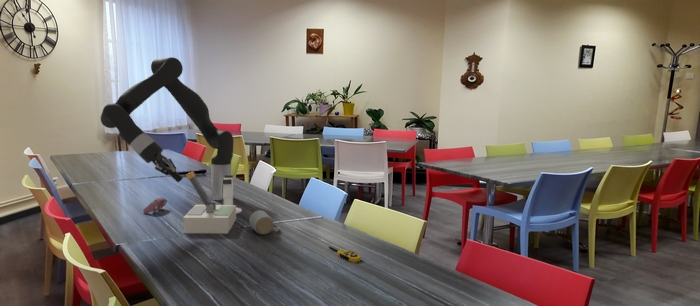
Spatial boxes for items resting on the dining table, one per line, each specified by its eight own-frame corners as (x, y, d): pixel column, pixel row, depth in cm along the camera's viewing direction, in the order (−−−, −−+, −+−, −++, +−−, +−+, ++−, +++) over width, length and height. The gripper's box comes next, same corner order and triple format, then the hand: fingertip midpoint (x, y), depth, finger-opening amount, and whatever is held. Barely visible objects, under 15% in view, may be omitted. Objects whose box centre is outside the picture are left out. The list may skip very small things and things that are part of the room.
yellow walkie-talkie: (352, 258, 138) (323, 245, 149) (352, 264, 138) (323, 250, 149) (363, 255, 141) (334, 242, 152) (363, 261, 141) (334, 247, 152)
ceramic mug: (255, 237, 159) (256, 216, 158) (248, 230, 166) (249, 210, 165) (282, 233, 164) (283, 213, 163) (275, 227, 171) (275, 208, 170)
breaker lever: (208, 212, 167) (185, 175, 164) (210, 209, 171) (188, 173, 168) (213, 209, 167) (190, 172, 164) (215, 207, 171) (192, 170, 168)
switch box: (183, 233, 160) (183, 209, 159) (196, 218, 178) (195, 197, 177) (228, 233, 162) (228, 209, 160) (235, 219, 179) (235, 197, 178)
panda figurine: (216, 207, 196) (216, 174, 194) (242, 207, 198) (242, 174, 196) (213, 215, 184) (213, 180, 182) (241, 214, 186) (241, 180, 184)
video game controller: (150, 218, 182) (156, 204, 180) (141, 212, 182) (147, 198, 181) (164, 211, 192) (170, 198, 190) (156, 206, 192) (162, 193, 191)
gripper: (147, 143, 157) (182, 177, 159) (159, 138, 170) (192, 170, 173) (132, 157, 157) (168, 191, 160) (145, 152, 170) (178, 183, 173)
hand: (180, 180), depth 166 cm, fingers closed
